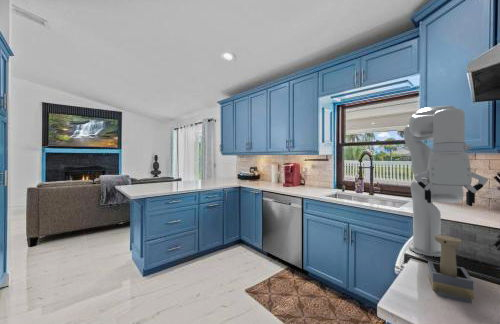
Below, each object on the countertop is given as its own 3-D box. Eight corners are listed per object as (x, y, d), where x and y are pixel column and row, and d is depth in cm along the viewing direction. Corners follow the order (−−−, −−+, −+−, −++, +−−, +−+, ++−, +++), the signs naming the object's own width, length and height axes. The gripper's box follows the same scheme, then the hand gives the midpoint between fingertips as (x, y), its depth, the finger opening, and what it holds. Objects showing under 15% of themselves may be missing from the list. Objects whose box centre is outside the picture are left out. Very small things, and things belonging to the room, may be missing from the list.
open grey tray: (426, 272, 79) (426, 258, 79) (461, 279, 75) (461, 264, 75) (434, 294, 66) (434, 277, 66) (477, 304, 61) (477, 286, 61)
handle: (459, 293, 66) (458, 242, 66) (432, 283, 72) (432, 236, 72) (464, 288, 69) (464, 239, 69) (438, 279, 74) (438, 234, 74)
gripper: (482, 149, 69) (482, 204, 69) (413, 150, 78) (413, 199, 78) (491, 147, 63) (492, 209, 63) (415, 149, 72) (415, 203, 72)
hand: (448, 203), depth 71 cm, fingers open, 9 cm apart
